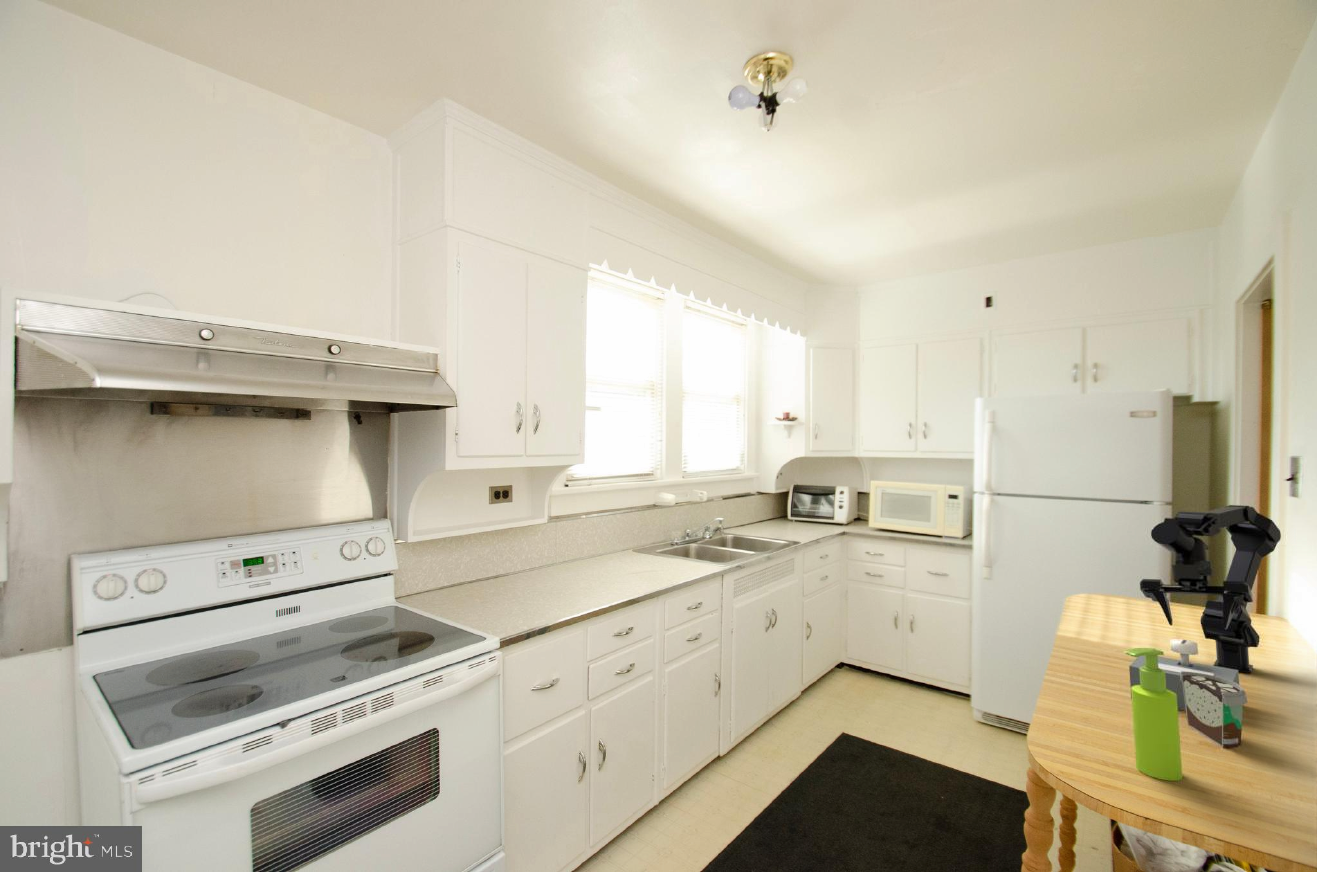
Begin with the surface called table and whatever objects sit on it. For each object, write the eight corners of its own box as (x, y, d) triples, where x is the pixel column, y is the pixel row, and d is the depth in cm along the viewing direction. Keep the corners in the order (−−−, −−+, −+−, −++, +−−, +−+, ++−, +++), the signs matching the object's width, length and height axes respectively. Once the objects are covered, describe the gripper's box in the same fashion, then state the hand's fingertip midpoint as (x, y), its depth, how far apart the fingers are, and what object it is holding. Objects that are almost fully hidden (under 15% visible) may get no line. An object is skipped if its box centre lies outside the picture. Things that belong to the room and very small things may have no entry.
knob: (1174, 665, 132) (1172, 637, 132) (1200, 670, 128) (1198, 641, 129) (1170, 670, 129) (1168, 641, 129) (1197, 675, 125) (1195, 645, 126)
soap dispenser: (1121, 764, 101) (1113, 645, 102) (1158, 761, 102) (1151, 643, 103) (1152, 782, 96) (1144, 655, 97) (1192, 779, 96) (1183, 653, 97)
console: (1143, 684, 136) (1141, 652, 137) (1240, 704, 124) (1238, 669, 125) (1131, 698, 128) (1129, 664, 129) (1234, 721, 116) (1231, 684, 117)
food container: (1270, 754, 103) (1266, 695, 104) (1229, 752, 105) (1224, 694, 105) (1219, 724, 116) (1215, 671, 116) (1182, 722, 117) (1179, 670, 117)
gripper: (1132, 547, 143) (1135, 610, 136) (1239, 546, 129) (1249, 617, 122) (1144, 566, 149) (1148, 627, 142) (1248, 567, 135) (1258, 635, 128)
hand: (1197, 626), depth 133 cm, fingers open, 9 cm apart
